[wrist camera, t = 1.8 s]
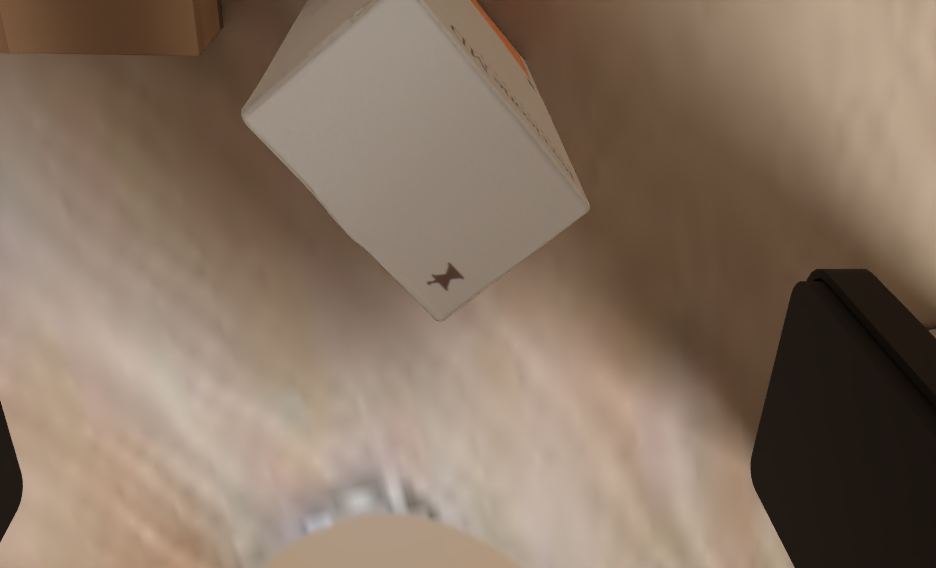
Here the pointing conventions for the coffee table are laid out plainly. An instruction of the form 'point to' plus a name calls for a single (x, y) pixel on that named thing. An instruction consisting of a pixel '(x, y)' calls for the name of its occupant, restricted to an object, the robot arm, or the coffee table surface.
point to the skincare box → (419, 140)
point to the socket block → (109, 26)
